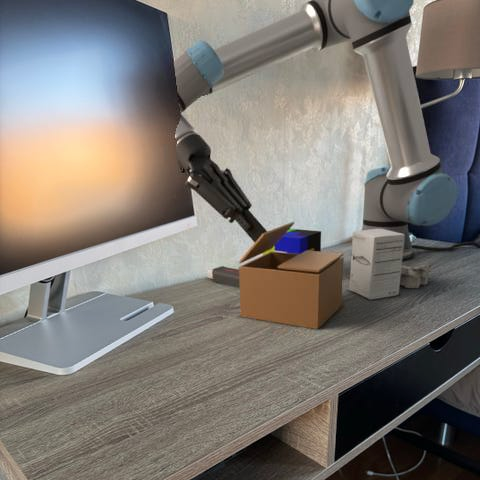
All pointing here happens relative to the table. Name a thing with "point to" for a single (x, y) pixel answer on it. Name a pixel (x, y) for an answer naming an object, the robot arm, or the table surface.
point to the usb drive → (225, 276)
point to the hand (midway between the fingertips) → (264, 241)
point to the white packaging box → (376, 263)
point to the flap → (266, 242)
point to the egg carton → (414, 276)
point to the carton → (292, 287)
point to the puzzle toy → (298, 242)
